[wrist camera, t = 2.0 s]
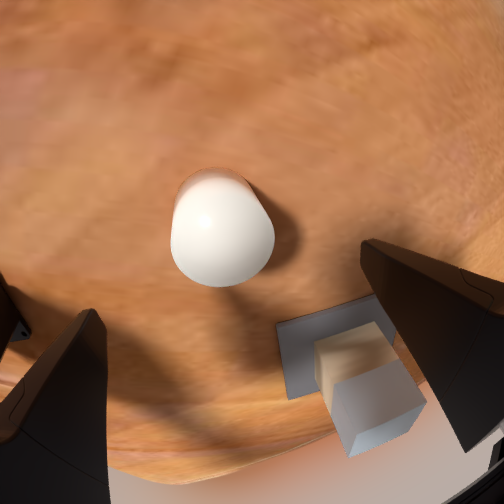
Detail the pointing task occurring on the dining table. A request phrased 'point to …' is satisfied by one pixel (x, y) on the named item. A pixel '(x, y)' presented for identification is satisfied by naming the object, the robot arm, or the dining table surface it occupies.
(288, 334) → the mat
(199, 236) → the white cylinder
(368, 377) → the top block
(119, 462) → the dining table surface
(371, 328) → the bottom block
